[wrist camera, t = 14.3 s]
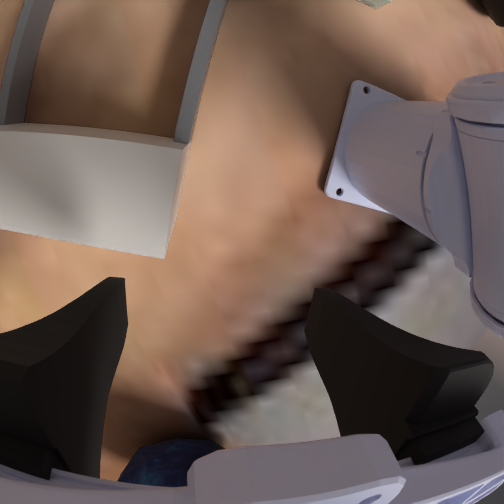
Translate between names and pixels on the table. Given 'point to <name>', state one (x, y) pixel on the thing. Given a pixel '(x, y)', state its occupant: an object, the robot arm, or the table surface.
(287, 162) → the table surface
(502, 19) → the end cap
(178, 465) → the decorative orb
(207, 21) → the printer bay
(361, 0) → the tray
